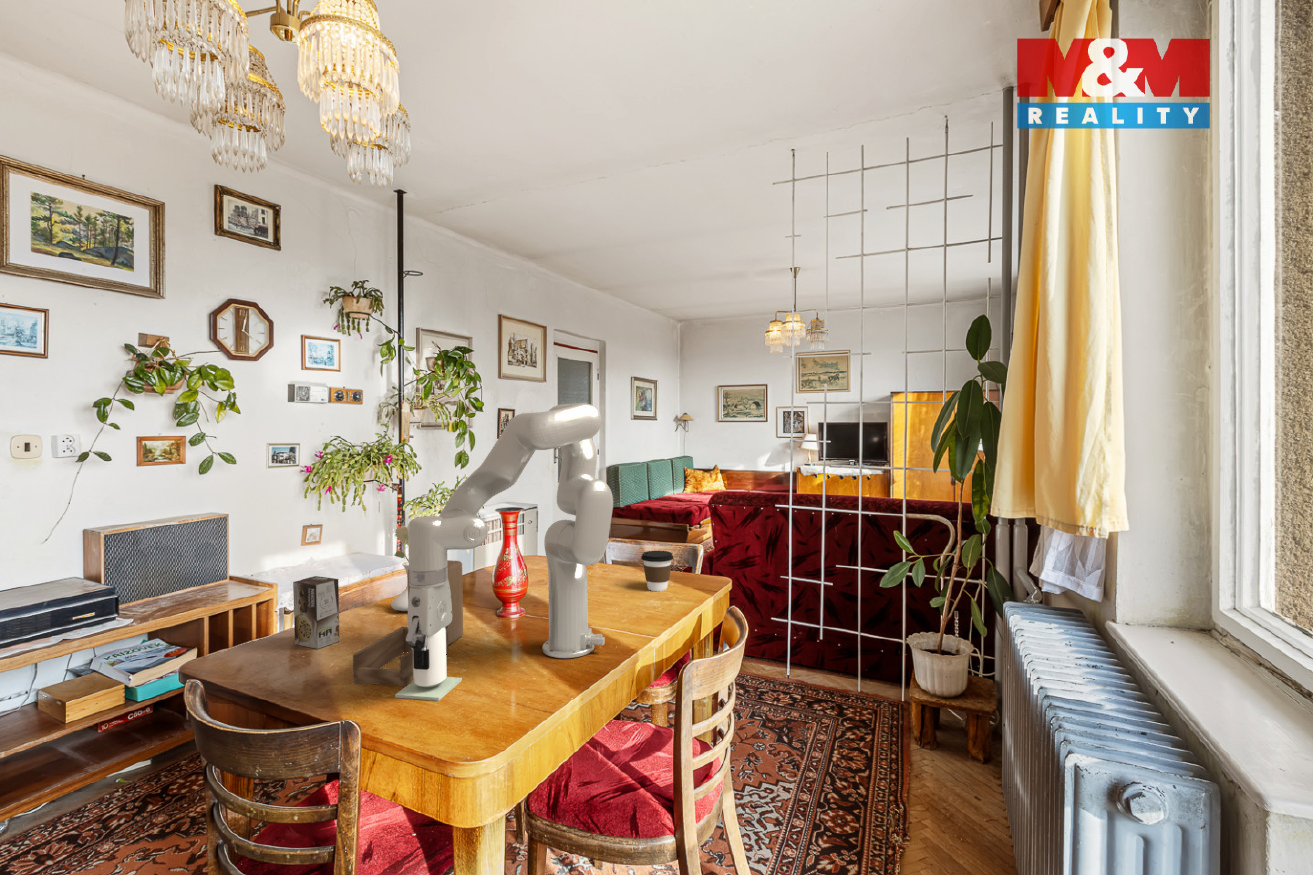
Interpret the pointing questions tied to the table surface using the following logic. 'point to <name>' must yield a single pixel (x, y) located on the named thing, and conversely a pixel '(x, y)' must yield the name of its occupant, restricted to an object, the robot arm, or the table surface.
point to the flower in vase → (402, 600)
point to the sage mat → (429, 690)
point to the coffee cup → (657, 569)
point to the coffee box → (316, 611)
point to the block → (454, 600)
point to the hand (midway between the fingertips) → (430, 661)
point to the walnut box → (386, 660)
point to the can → (433, 661)
